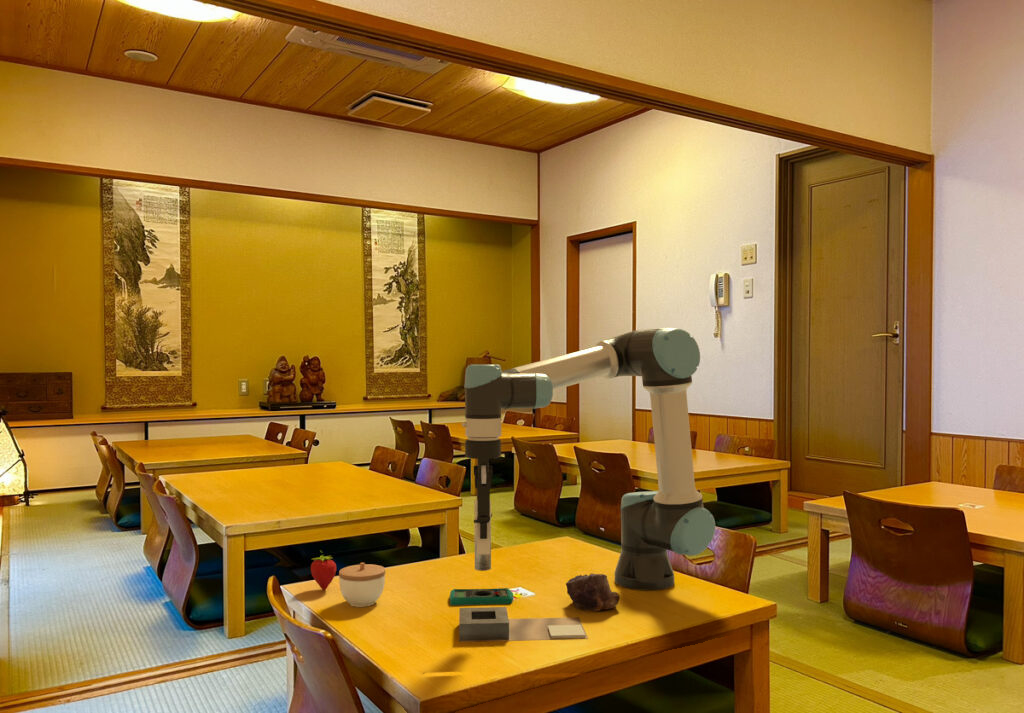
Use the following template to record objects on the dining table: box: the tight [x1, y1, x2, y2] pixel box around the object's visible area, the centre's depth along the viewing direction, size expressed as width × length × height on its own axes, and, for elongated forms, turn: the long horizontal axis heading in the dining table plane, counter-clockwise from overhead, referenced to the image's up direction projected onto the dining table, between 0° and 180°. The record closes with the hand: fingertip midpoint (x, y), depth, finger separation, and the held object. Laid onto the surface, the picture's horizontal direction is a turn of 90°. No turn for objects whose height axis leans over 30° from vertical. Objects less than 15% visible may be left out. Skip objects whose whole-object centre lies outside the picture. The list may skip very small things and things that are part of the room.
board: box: [458, 616, 589, 643], centre depth 161 cm, size 26×13×1 cm, turn 93°
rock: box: [565, 573, 621, 612], centre depth 175 cm, size 12×9×10 cm
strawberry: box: [310, 550, 337, 591], centre depth 191 cm, size 6×8×10 cm
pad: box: [548, 625, 585, 639], centre depth 158 cm, size 7×6×1 cm
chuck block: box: [458, 606, 509, 641], centre depth 159 cm, size 10×10×3 cm
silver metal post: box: [473, 499, 492, 572], centre depth 159 cm, size 3×3×15 cm
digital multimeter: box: [449, 587, 514, 606], centre depth 181 cm, size 7×15×3 cm, turn 94°
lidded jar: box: [338, 562, 386, 608], centre depth 181 cm, size 11×11×9 cm
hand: (483, 551), depth 159 cm, fingers closed on silver metal post, 3 cm apart
